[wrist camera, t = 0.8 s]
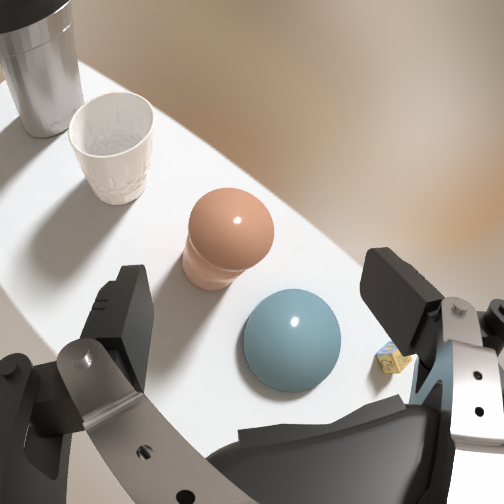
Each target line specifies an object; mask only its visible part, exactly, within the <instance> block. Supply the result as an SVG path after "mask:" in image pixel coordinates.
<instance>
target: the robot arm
mask: <svg viewBox="0 0 504 504" xmlns="http://www.w3.org/2000/svg"><path fill="white" fill-rule="evenodd" d="M0 64H1V67H2V70H3V73H4V76H5V79H6V82H7V85H8V87H9V90H10V93H11V95H12V98H13V100H14V103H15V106H16V108H17V111H18V113H19V115H20V118H21V120H22V122H23V125H24V127H25V129H26V131H27V132H28V133H29V134H30V135H31V136H33V137H37V138H46V137H50V136H54V135H56V134H59V133H61V132H63V131H64V130H66V129H67V128H69V124H70V121H71V119H72V117H73V115H74V114H75V113H76V111H77V110H78V109H79V108H80V107H81V106H82V105H83V104H84V99H83V94H82V88H81V81H80V75H79V68H78V61H77V53H76V45H75V35H74V25H73V11H72V0H0ZM360 294H361V297H362V299H363V301H364V302H365V304H366V305H367V306H368V308H369V309H370V310H371V312H372V313H373V315H374V316H375V317H376V319H377V320H378V321H379V323H380V324H381V326H382V327H383V328H384V330H385V331H386V333H387V334H388V336H389V337H390V338H391V340H392V341H393V343H394V344H395V346H396V347H397V348H398V350H399V351H400V353H401V354H402V356H403V357H406V356H410V355H413V354H417V355H418V357H417V359H416V361H415V365H414V373H413V381H412V388H411V394H410V400H409V404H404V403H403V401H402V399H401V397H400V396H399V394H398V395H395V396H392V397H389V398H386V399H383V400H379V401H376V402H373V403H370V404H366V405H364V406H362V407H361V408H359V409H357V410H355V411H354V412H352V413H350V414H348V415H346V416H345V417H343V418H341V419H339V420H337V421H335V422H333V423H331V424H321V425H310V424H278V425H272V426H265V427H258V428H250V429H242V430H238V440H239V441H237V442H235V443H232V444H229V445H227V446H225V447H222V448H220V449H219V450H217V451H215V452H213V453H212V454H210V455H209V456H208V457H206V458H204V457H203V456H202V455H201V454H200V453H198V452H197V451H196V450H195V449H194V448H193V447H192V446H191V445H190V444H189V443H188V442H187V441H186V440H185V439H184V438H183V437H182V436H181V435H180V433H179V432H178V431H177V430H176V429H175V428H174V427H173V426H172V425H171V424H170V423H169V422H168V421H167V420H166V419H165V417H164V416H163V415H162V414H161V413H160V412H159V411H158V410H157V408H156V407H155V406H154V405H153V404H152V403H151V401H150V400H149V399H148V398H147V397H146V396H145V395H144V387H145V378H146V369H147V361H148V353H149V346H150V339H151V332H152V326H153V318H154V312H153V303H152V298H151V293H150V289H149V284H148V279H147V274H146V269H145V266H144V265H128V266H122V267H121V269H120V272H119V274H118V277H117V279H116V281H109V282H107V283H106V284H105V285H104V286H103V287H102V288H101V289H100V290H99V292H98V295H97V297H96V299H95V302H94V304H93V306H92V311H90V313H89V316H88V318H87V321H86V323H85V326H84V328H83V331H82V333H81V336H80V339H78V340H75V341H72V342H70V343H69V344H67V345H66V346H65V347H64V348H63V349H62V350H61V351H60V353H59V354H58V357H57V361H54V362H49V363H45V364H40V365H37V366H33V364H32V363H31V361H30V360H29V358H28V357H27V356H26V355H24V354H21V353H14V354H11V355H8V356H6V357H5V358H3V359H2V360H0V504H66V492H67V477H68V464H69V454H70V446H71V439H72V433H74V432H79V431H84V430H86V432H87V434H88V435H89V437H90V439H91V440H92V442H93V444H94V445H95V447H96V449H97V450H98V452H99V453H100V455H101V456H102V458H103V459H104V461H105V463H106V464H107V465H108V467H109V468H110V470H111V471H112V473H113V474H114V476H115V477H116V478H117V480H118V481H119V483H120V484H121V485H122V487H123V488H124V489H125V491H126V492H127V493H128V495H129V496H130V497H131V499H132V500H133V501H134V502H135V504H504V370H503V369H502V367H501V366H500V365H499V363H498V361H497V357H498V356H499V354H500V352H501V351H502V349H503V347H504V300H501V299H494V300H492V301H491V303H490V305H489V307H488V309H487V311H486V312H479V311H476V310H475V308H474V307H473V306H472V305H471V304H470V303H468V302H467V301H465V300H463V299H461V298H457V297H447V298H445V297H444V296H443V295H442V294H441V293H440V292H439V291H438V290H437V289H436V288H435V287H434V286H433V285H432V284H430V283H429V282H428V281H427V280H425V278H424V277H423V276H422V275H421V274H419V273H418V271H417V270H416V269H415V268H414V267H413V266H411V265H410V264H408V263H407V262H405V261H403V260H402V259H401V258H399V257H398V256H397V255H396V254H395V253H394V252H393V251H392V250H391V249H389V248H388V247H383V248H371V249H369V250H368V251H367V253H366V257H365V262H364V267H363V272H362V277H361V281H360ZM28 425H29V427H28ZM27 428H28V431H27ZM26 433H27V436H26ZM25 437H26V441H25ZM24 442H25V446H24Z"/></svg>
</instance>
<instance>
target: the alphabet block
mask: <svg viewBox="0 0 504 504" xmlns="http://www.w3.org/2000/svg"><path fill="white" fill-rule="evenodd" d="M376 356H377V358H378V360H379V363H380V365H381V367H382V370H383V372H384V373H400V372H401V371H402V370H403V369H404V368H405V367H406V366H407V365H408V364H409V363H410V362H411V361H412V358H411V356H406V357H403V356H402V354H401V353H400V351H399V350H398V348H397V347H396V346H395V344H394V343H393V341H390V342H388V343H387V344H386V345H385V346H384V347H383V348H382V349H381V350H380V351H379V352H377V353H376Z"/></svg>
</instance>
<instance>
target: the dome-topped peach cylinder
mask: <svg viewBox="0 0 504 504" xmlns="http://www.w3.org/2000/svg"><path fill="white" fill-rule="evenodd" d="M273 239H274V225H273V221H272V218H271V216H270V213H269V212H268V210H267V208H266V207H265V206H264V205H263V203H262V202H261V201H260V200H258V199H257V198H256V197H255V196H253V195H252V194H250V193H248V192H245V191H243V190H240V189H235V188H221V189H216V190H213V191H211V192H209V193H207V194H205V195H204V196H203V197H201V198H200V199H199V200H198V202H197V203H196V204H195V206H194V207H193V209H192V212H191V215H190V219H189V223H188V237H187V241H186V245H185V248H184V252H183V257H182V266H183V270H184V273H185V275H186V277H187V278H188V280H189V281H190V282H191V283H192V284H193V285H195V286H196V287H198V288H200V289H203V290H207V291H216V290H220V289H223V288H225V287H227V286H228V285H229V284H231V283H232V282H233V281H234V280H235V279H236V278H237V277H238V276H240V275H241V274H242V273H243V272H244V271H245V270H246V269H249V268H251V267H253V266H254V265H256V264H257V263H258V262H260V261H261V260H262V259H263V258H264V257H265V256H266V255H267V253H268V252H269V250H270V248H271V246H272V243H273Z"/></svg>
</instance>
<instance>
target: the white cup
mask: <svg viewBox="0 0 504 504" xmlns="http://www.w3.org/2000/svg"><path fill="white" fill-rule="evenodd" d="M154 126H155V112H154V110H153V107H152V106H151V104H150V103H149V102H148V101H147V100H146V99H144V98H143V97H141V96H139V95H137V94H134V93H130V92H110V93H105V94H102V95H99V96H97V97H94V98H92V99H91V100H89V101H87V102H86V103H85V104H83V105H82V106H81V107H80V108H79V109H78V110H77V111H76V113H75V114H74V115H73V117H72V119H71V121H70V124H69V128H68V137H69V141H70V143H71V146H72V148H73V150H74V153H75V155H76V157H77V160H78V162H79V164H80V167H81V169H82V171H83V173H84V175H85V177H86V179H87V181H88V183H89V184H90V186H91V188H92V190H93V192H94V193H95V194H96V196H97V197H98V198H99V199H100V200H101V201H103V202H105V203H108V204H111V205H121V204H127V203H129V202H131V201H133V200H135V199H137V198H138V197H139V196H140V195H141V193H142V192H143V191H144V190H145V189H146V186H147V182H148V178H149V170H150V164H151V155H152V146H153V136H154Z"/></svg>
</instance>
